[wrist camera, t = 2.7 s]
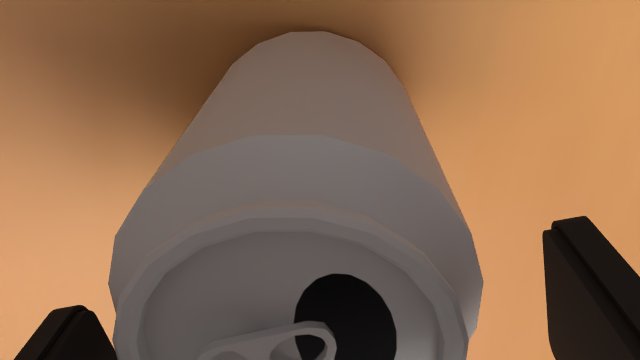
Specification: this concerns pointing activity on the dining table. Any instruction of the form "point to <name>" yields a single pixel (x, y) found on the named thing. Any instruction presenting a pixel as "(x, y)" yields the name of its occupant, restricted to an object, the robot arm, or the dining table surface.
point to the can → (298, 222)
